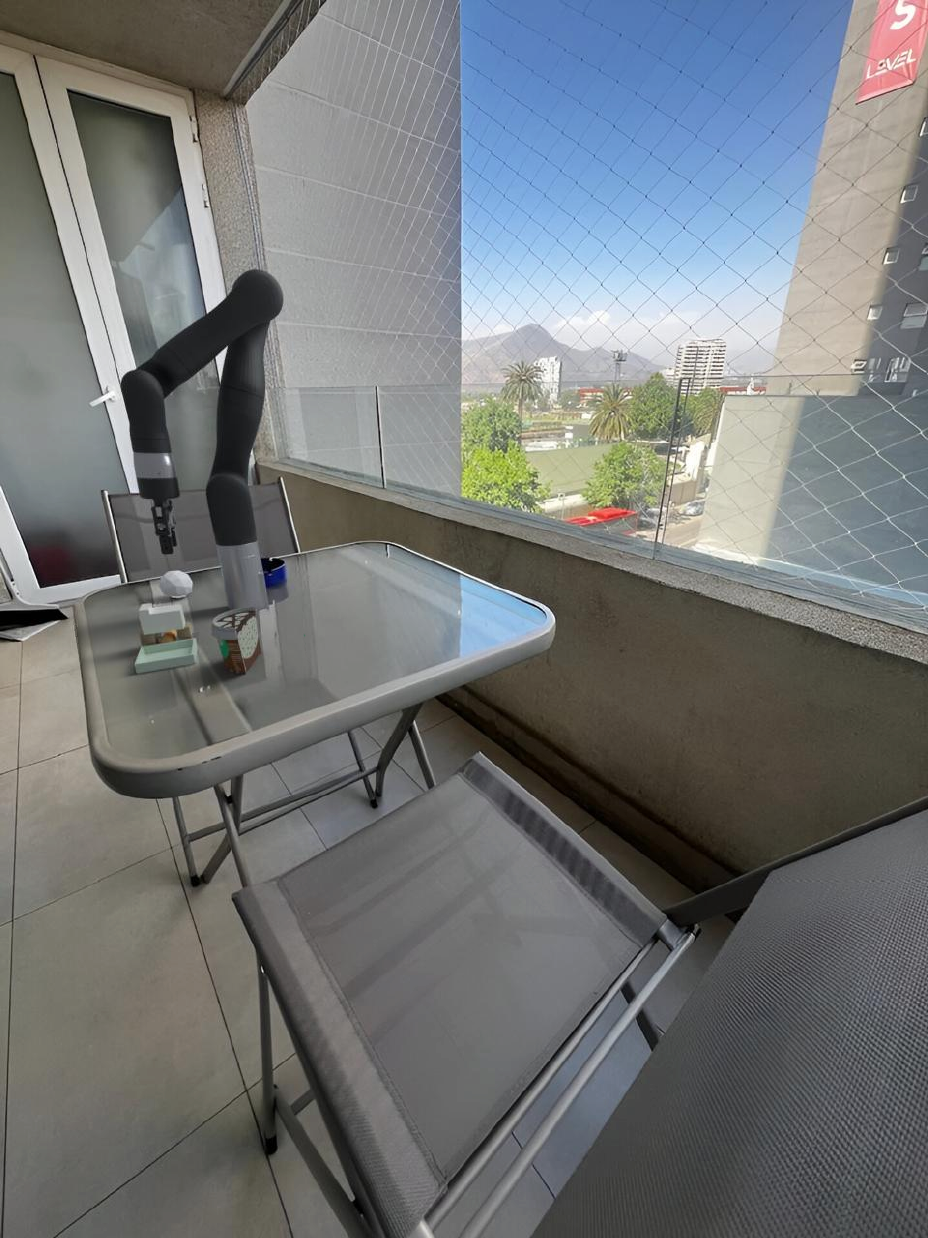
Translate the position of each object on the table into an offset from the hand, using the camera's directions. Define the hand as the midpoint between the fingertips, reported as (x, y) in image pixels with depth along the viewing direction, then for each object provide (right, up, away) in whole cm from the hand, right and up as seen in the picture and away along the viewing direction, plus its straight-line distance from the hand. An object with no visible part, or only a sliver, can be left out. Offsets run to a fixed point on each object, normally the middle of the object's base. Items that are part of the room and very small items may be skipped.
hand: (170, 550), depth 109 cm
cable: (+4, -20, -6) cm, 22 cm away
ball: (-12, -10, +24) cm, 29 cm away
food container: (+23, -25, -16) cm, 37 cm away
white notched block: (+5, -17, -10) cm, 20 cm away
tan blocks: (+5, -21, -8) cm, 23 cm away
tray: (+8, -23, -14) cm, 29 cm away
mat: (+7, -23, -10) cm, 26 cm away
